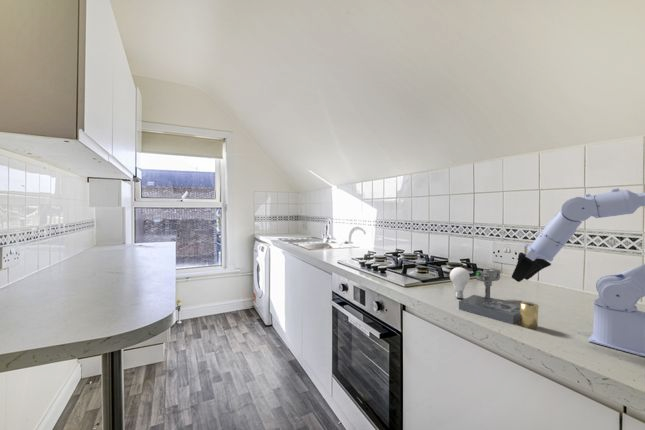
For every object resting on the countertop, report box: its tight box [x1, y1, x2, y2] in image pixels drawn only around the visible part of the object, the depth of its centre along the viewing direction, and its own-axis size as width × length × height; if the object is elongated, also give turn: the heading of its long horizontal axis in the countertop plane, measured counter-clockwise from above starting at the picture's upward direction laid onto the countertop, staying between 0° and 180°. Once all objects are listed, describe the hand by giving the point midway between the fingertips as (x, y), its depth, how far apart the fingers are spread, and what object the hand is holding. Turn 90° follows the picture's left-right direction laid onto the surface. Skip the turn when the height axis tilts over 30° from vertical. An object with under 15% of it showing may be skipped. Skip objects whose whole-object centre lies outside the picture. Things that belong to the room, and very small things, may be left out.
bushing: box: [519, 301, 539, 330], centre depth 78 cm, size 4×4×6 cm
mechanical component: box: [475, 268, 501, 299], centre depth 103 cm, size 3×10×10 cm, turn 111°
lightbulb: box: [449, 266, 471, 300], centre depth 102 cm, size 6×6×11 cm
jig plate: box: [458, 294, 520, 325], centre depth 89 cm, size 15×11×2 cm
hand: (519, 278), depth 81 cm, fingers open, 7 cm apart
